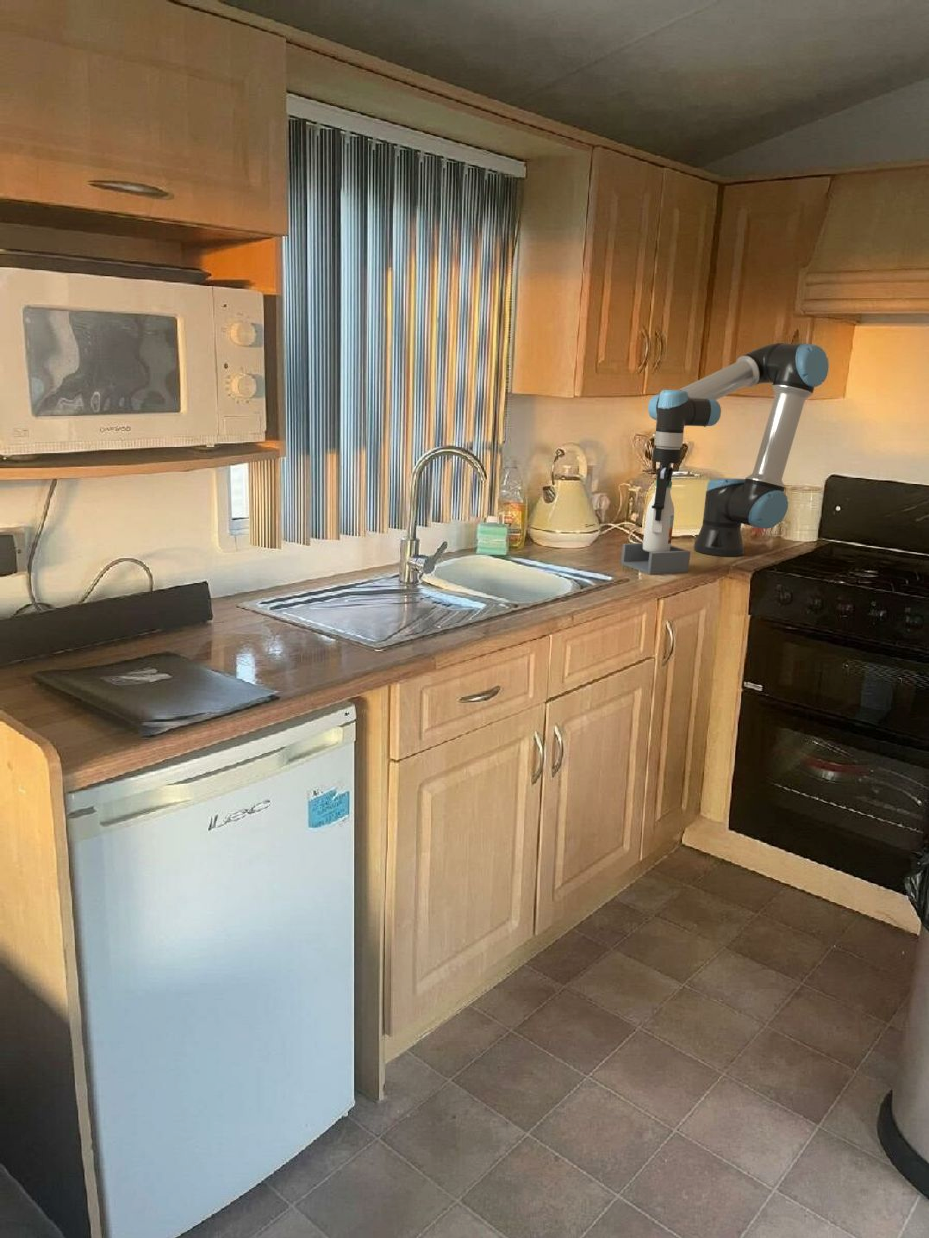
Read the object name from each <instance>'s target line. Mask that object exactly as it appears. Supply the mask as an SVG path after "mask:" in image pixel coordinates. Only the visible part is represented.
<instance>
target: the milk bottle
mask: <svg viewBox="0 0 929 1238" xmlns="http://www.w3.org/2000/svg"><path fill="white" fill-rule="evenodd" d="M656 481H657V479H656V480H655V482H654V485H655V486H654V488H655V490H654V493H653V495H652V498H651V499H650V501H649V503H648V505H647V509H646V515H645V521H644V522H645V523H644V530H643V531H644V532H643V539H642V543H643V550H644V551H647V552H669V551H670V547H671V545H672V538H673V537H672V536H673V527H674V519H675V518H674V517H675V506H674V503H673V500H672V497H671V496H672V495H671V490H672V487H673V481H672V480H671V481H670V482H669V485H668V486H667V490H666V496H665V503H664V517H663V526H662V533H658V532H652V524H653V515H654V508H652V506H654V502H655V494H656V486H657V483H656Z"/></svg>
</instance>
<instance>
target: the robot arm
mask: <svg viewBox="0 0 929 1238" xmlns="http://www.w3.org/2000/svg"><path fill="white" fill-rule="evenodd" d="M829 365H830V364H829V359H828V357H827V353H826V352H825V350H824V349H823V348H822V347H820V346H819V345H817V344H809V343H805V342H804V343H787V342H786V343H785V342H778V343H777V342H776V343H771V344H768V345H764V346H761V347H760V348H756V349H754V350H752V351H750V352H748V353H745V354H743V355H741V356H739V357H738V358H737V359H736V362H734V363H732V364H729V365H728V366H726V367H724V368H721V369H720V370H718V371H715V372H713V373H711V374H709V375H707V376H705V377H702V378H701V379H698V380H696V381H694V382H691V383H690V384H687V385H686V386H684V387H682V388H679V389H662V390H661V392H660V393H659V394H656V395H653V396H652V397H651V399H650V400H649V402H648V405H647V412H648V415H649V416H650V418H651V419H653V420H655V421H656V423H655V424H656V427H655V433H654V434H652V438H654V443H653V444H654V446H655V447H654V448H653V451H652V452H653V453H652V461H653V462H655V463H660V466H659V467H658V468H657V471H656V480H657V481H656V480H655V481H656V483H657V486H656V494H655V502H654V506H652V508H654V515H653V524H652V532H658V533H662V526H663V517H664V503H665V496H666V490H667V486H668V485H669V482H670V481H672V476H673V473H674V469H673V467H672V464H679V463H681V458H682V457H681V455H682V450H681V449H680V448H682V447H683V440H684V433H685V432H684V431H685V427H687V426H688V427H704V428H706V427H712V426H715V425H716V424H717V423H718V422H719V421H720V419H721V414H722V407H721V404H720V403H719V401H718V400H720V399H721V398H724V397H726V396H727V395H730V394H733V393H734V392H737V391H738V390H740V389H743V388H745V387H747V388H752V387H755V386H757V385H760V384H772V386H771V387H772V389H773V391H774V393H775V395H774V398H773V402H772V405H771V409H770V412H769V416H768V418H767V422H766V426H765V428H764V433H763V434H762V435H763V436H762V440H761V443H760V445H759V449H758V453H757V457H756V461H755V464H754V468H753V470H752V473H750V474H749V475H748V476H746V477H745V478H712V479H710V480H709V481H708V482H707V487H706V491H705V499H704V509H703V518H702V525H701V528H700V531H699V533H698V535H697V538H696V539H695V541H694V543H693V550H694V552H695V551H696V552H697V553H701V554H706V555H711V556H719V557H740V556H743V554H744V550H745V549H744V547H745V546H744V545H743V537H742V535H743V534H742V530H741V528H742V524H743V525H746V526H749V527H753V528H757V529H766V530H767V529H771V528H774V527H776V526H777V525H779V524H780V523H781V522H782V520H784V518H785V516H786V515H787V512H788V509H789V501H788V499H789V498H788V496H787V495H786V494H785V492H784V491H785V490H786V489H785V488H786V485H785V484H784V482H783V477H784V473H785V470H786V466H787V463H788V461H789V457H790V456H789V455H790V452H791V449H792V446H793V442H794V439H795V435H796V433H797V429H798V426H799V421H800V420H801V419H800V418H801V416H802V411H803V408H804V405H805V403H806V402H805V401H806V400H807V399H808V398H810V397H811V396H813V395H814V394H813V393H814V390H815V388H816V387H819V386H821V385H822V384H823V383H824V382H825V381H826V379H827V376H828V374H829V368H830V367H829Z"/></svg>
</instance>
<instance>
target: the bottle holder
mask: <svg viewBox="0 0 929 1238" xmlns="http://www.w3.org/2000/svg"><path fill="white" fill-rule="evenodd" d="M621 550H622V551H621V558H620V559H621V560H620V565H622V566H624V567H627V568H630V569H632V568H633V570H635V571H638V572H641V573H644V574H646V573H647V574H646V575H649V574H656V575H666V574H667V573H668V574H667V575H669V574H683V573H689V567H690V557H691V550H687V549H684V548H681V547H678V546H674V545H672V544H671V547H670V551H669V552H647V551H644V550H643V542H633V543H632V542H631V543H622V549H621ZM664 573H666V574H664Z"/></svg>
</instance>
